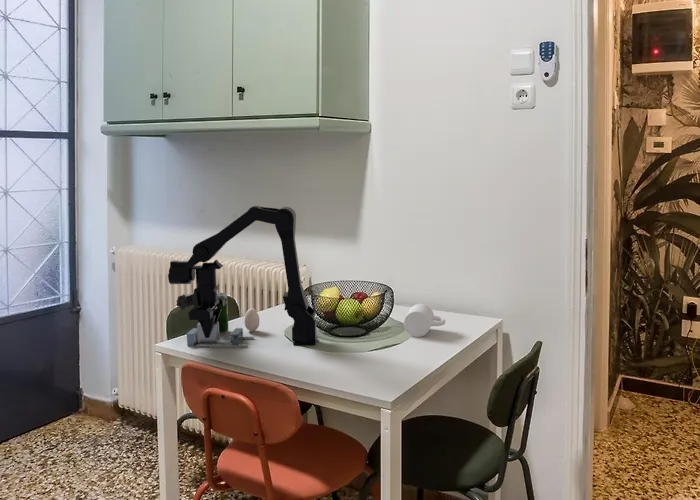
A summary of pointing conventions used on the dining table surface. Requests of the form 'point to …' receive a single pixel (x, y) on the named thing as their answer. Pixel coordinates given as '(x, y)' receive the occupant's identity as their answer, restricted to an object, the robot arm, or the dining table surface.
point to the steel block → (214, 334)
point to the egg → (251, 320)
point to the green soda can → (223, 315)
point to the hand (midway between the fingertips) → (208, 335)
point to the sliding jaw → (236, 336)
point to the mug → (421, 320)
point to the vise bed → (193, 339)
